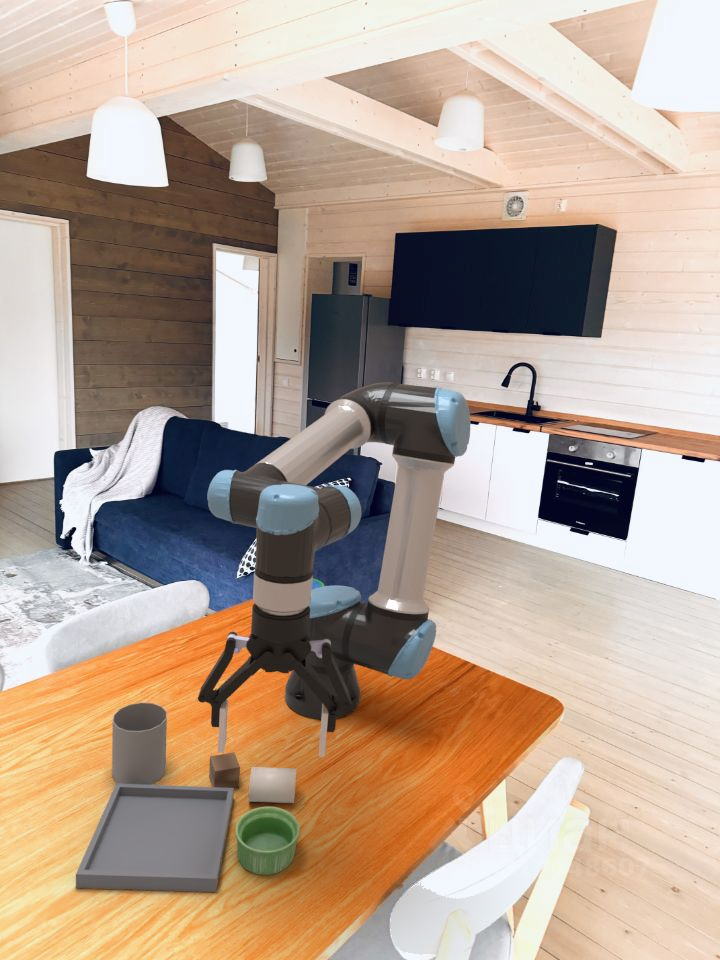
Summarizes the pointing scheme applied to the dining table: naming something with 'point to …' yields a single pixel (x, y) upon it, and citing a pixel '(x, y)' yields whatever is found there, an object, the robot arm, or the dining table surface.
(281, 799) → the canister
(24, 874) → the dining table surface
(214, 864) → the tray
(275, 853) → the ramekin
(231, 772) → the walnut block
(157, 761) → the cup
